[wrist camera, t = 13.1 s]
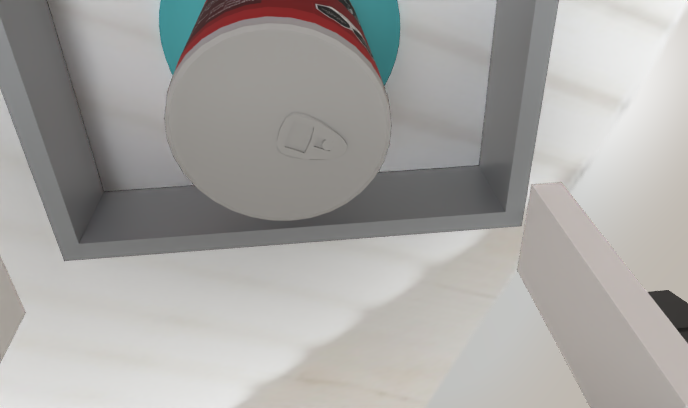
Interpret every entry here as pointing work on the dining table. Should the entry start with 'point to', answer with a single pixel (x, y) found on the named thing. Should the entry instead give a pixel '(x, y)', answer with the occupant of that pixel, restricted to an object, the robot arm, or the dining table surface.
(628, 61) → the dining table surface
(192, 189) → the grey square tray
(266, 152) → the canned food
